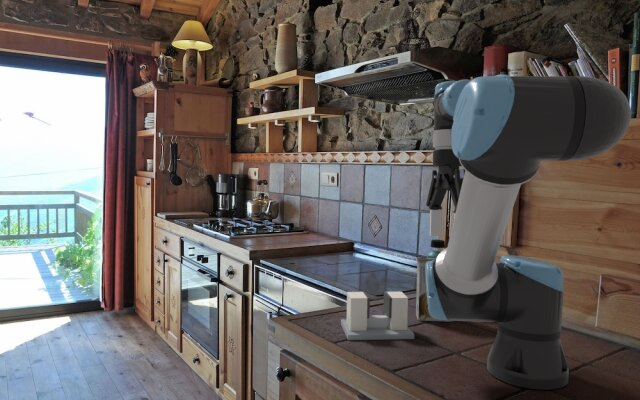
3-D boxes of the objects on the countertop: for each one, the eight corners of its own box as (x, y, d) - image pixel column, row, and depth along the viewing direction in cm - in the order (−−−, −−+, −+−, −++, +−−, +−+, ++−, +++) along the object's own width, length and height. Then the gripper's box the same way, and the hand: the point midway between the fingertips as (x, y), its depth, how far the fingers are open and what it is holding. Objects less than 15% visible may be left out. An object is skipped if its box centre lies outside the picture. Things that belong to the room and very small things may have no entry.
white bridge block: (407, 329, 123) (408, 297, 123) (388, 330, 123) (389, 298, 122) (400, 322, 129) (401, 291, 128) (383, 322, 129) (383, 291, 128)
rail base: (414, 338, 120) (415, 301, 120) (348, 340, 119) (348, 301, 118) (401, 323, 132) (402, 288, 132) (340, 323, 131) (341, 289, 130)
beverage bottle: (429, 302, 152) (431, 237, 151) (450, 306, 148) (452, 239, 147) (420, 307, 147) (422, 239, 145) (441, 311, 143) (444, 242, 142)
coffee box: (448, 315, 140) (450, 257, 139) (452, 322, 134) (454, 262, 132) (415, 313, 141) (417, 256, 140) (417, 320, 134) (419, 261, 133)
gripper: (491, 146, 107) (487, 245, 108) (442, 152, 132) (439, 233, 132) (458, 145, 106) (455, 245, 106) (415, 151, 130) (412, 233, 131)
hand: (446, 239), depth 119 cm, fingers open, 13 cm apart
